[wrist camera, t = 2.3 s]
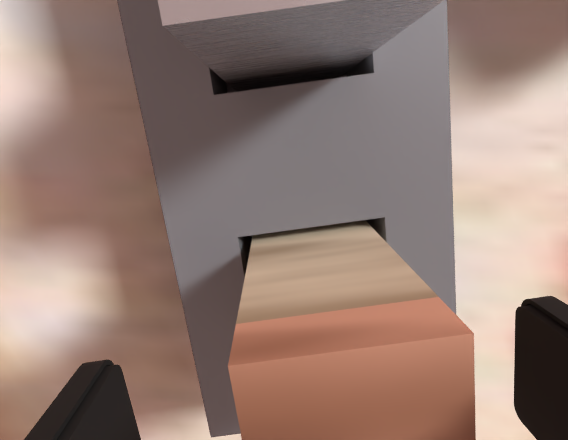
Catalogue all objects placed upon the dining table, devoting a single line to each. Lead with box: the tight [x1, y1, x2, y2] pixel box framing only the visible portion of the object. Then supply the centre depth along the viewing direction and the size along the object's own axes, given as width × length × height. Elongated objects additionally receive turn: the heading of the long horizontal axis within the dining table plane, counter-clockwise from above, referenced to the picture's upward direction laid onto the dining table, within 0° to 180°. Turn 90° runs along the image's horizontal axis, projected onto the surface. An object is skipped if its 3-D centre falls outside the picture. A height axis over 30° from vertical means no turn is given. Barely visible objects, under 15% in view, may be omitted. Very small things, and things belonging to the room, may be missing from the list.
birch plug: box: [228, 220, 476, 440], centre depth 13 cm, size 4×4×12 cm
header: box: [117, 0, 456, 437], centre depth 15 cm, size 21×10×5 cm, turn 8°
